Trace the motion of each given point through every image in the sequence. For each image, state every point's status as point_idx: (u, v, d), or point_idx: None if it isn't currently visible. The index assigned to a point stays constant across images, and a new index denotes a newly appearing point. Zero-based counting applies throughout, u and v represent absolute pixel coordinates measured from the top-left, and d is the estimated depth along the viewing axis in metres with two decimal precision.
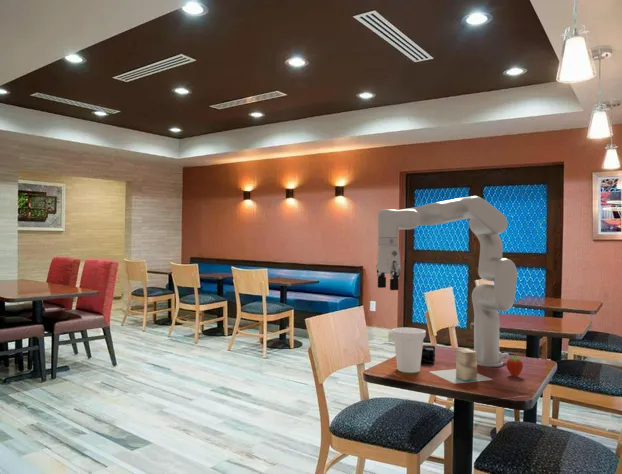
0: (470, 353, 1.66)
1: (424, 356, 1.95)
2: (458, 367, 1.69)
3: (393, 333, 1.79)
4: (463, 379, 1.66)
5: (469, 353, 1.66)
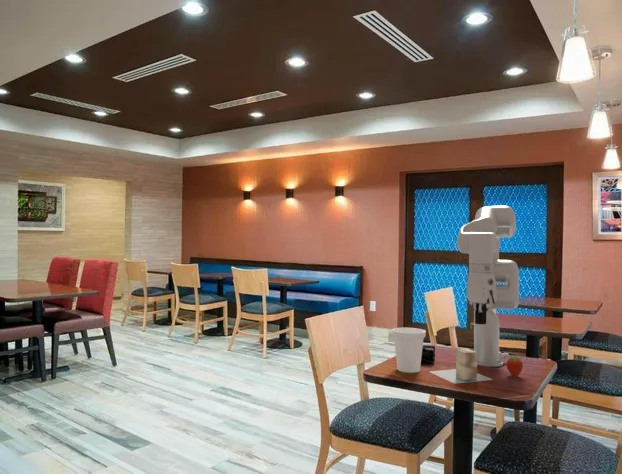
0: (470, 353, 1.66)
1: (424, 356, 1.95)
2: (458, 367, 1.69)
3: (393, 333, 1.79)
4: (463, 379, 1.66)
5: (469, 353, 1.66)
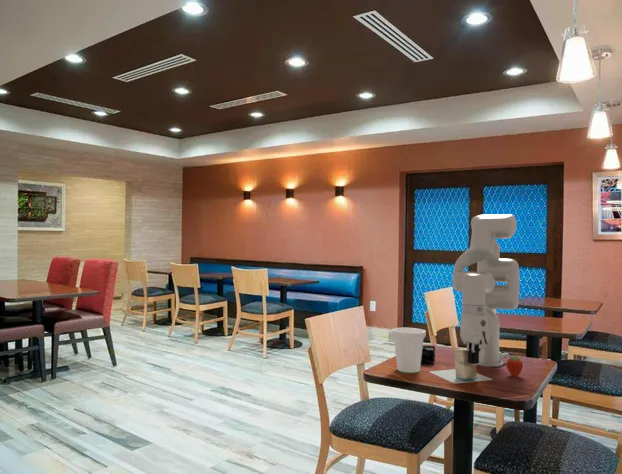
0: None
1: (424, 356, 1.95)
2: (457, 366, 1.69)
3: (393, 333, 1.79)
4: (463, 378, 1.66)
5: (467, 351, 1.67)
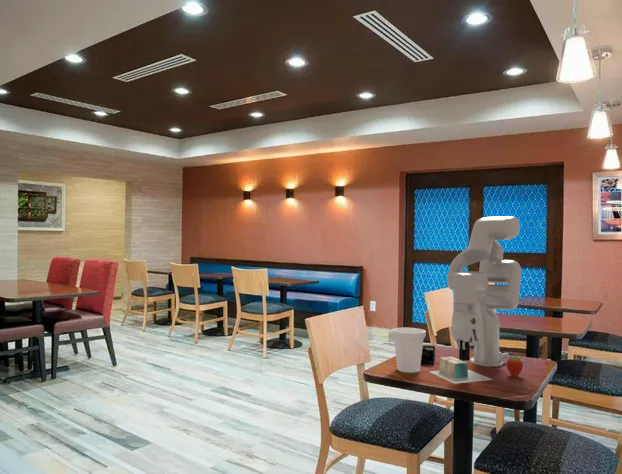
0: (445, 357, 1.80)
1: (424, 356, 1.95)
2: (449, 371, 1.74)
3: (393, 333, 1.79)
4: (454, 365, 1.71)
5: (444, 357, 1.80)
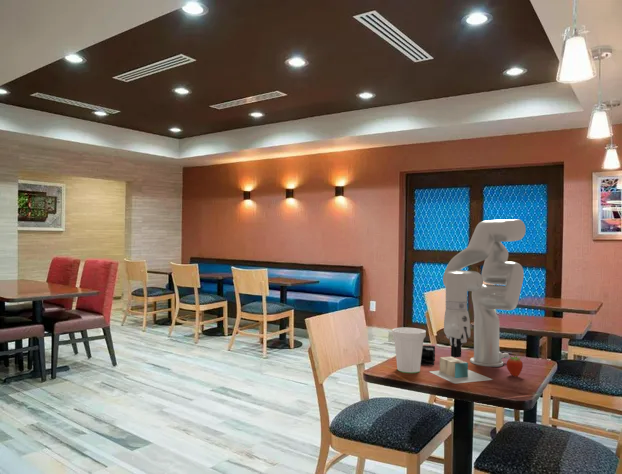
0: (445, 357, 1.80)
1: (424, 356, 1.95)
2: (449, 371, 1.74)
3: (393, 333, 1.79)
4: (454, 365, 1.71)
5: (444, 357, 1.80)
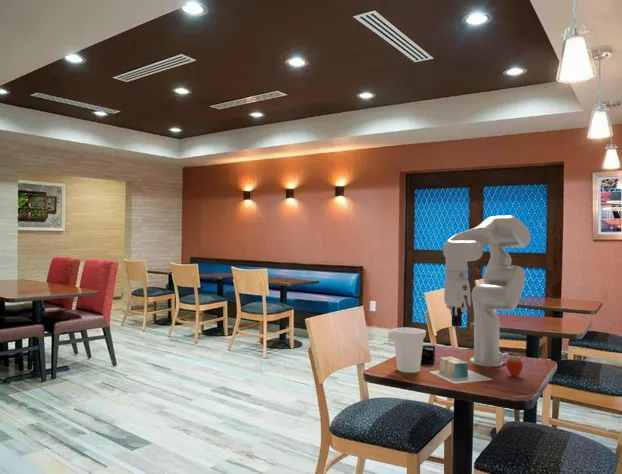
0: (445, 357, 1.80)
1: (424, 356, 1.95)
2: (449, 371, 1.74)
3: (393, 333, 1.79)
4: (454, 365, 1.71)
5: (444, 357, 1.80)
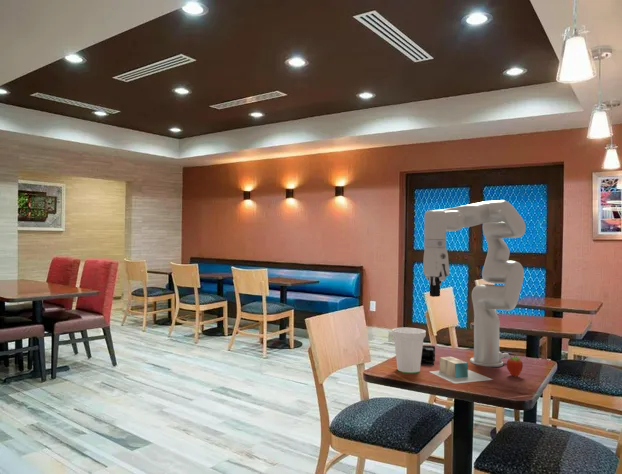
0: (445, 357, 1.80)
1: (424, 356, 1.95)
2: (449, 371, 1.74)
3: (393, 333, 1.79)
4: (454, 365, 1.71)
5: (444, 357, 1.80)
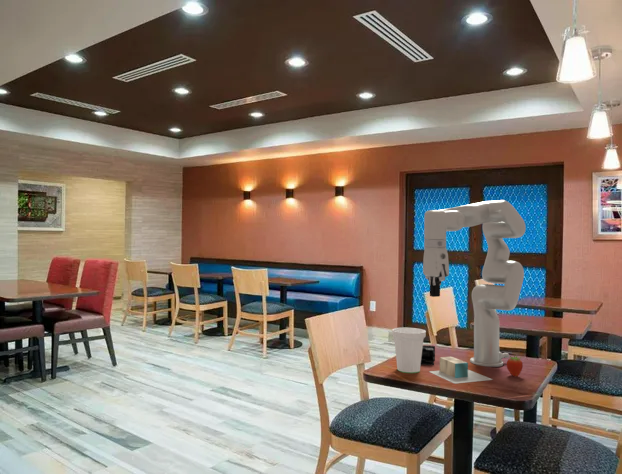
0: (445, 357, 1.80)
1: (424, 356, 1.95)
2: (449, 371, 1.74)
3: (393, 333, 1.79)
4: (454, 365, 1.71)
5: (444, 357, 1.80)
